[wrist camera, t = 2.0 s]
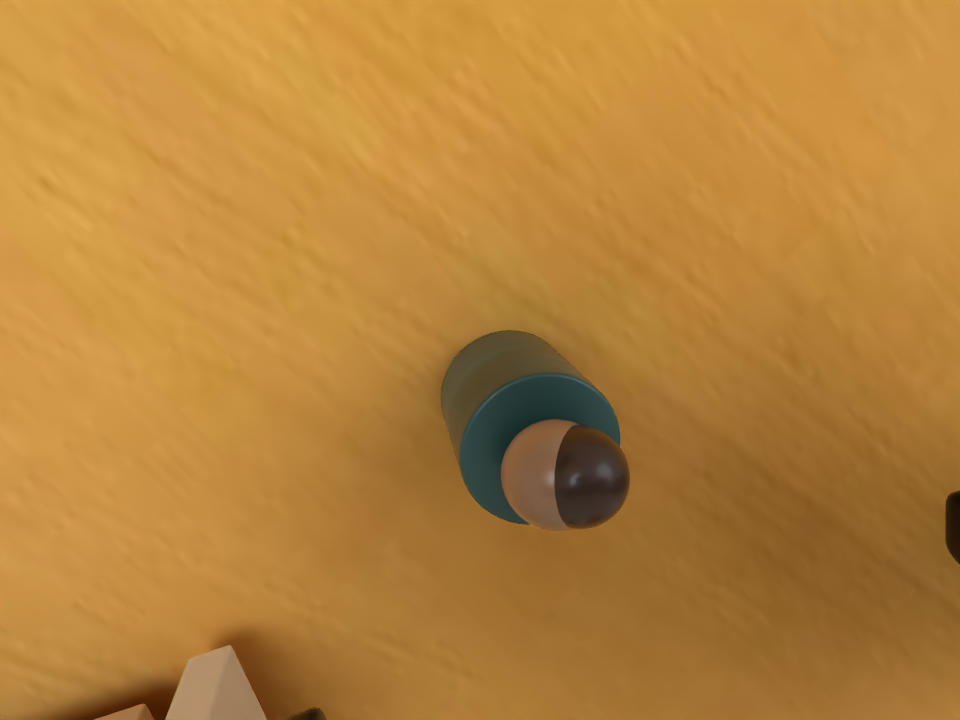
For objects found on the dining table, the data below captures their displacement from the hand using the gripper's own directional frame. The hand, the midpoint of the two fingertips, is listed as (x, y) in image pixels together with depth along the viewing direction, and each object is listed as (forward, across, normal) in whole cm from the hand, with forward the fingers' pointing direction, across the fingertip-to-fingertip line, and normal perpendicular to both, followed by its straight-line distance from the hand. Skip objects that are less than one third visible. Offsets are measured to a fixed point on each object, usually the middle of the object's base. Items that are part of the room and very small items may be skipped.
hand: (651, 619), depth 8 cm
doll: (+9, 0, 0) cm, 9 cm away
